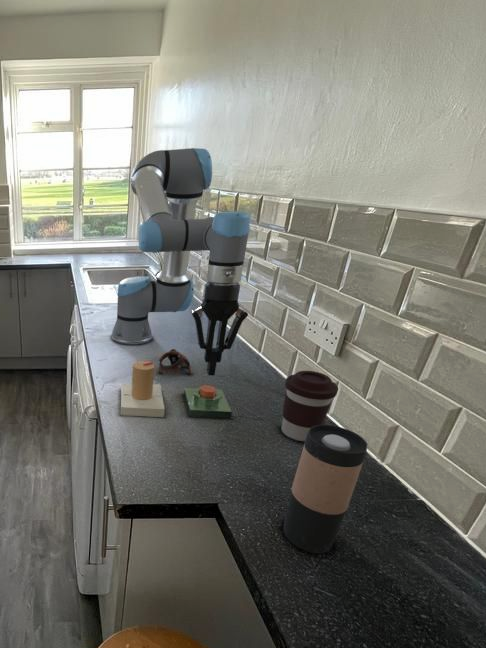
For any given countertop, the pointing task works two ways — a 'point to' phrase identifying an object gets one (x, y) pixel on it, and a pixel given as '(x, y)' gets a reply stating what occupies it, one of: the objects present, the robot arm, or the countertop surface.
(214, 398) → the button box
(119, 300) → the robot arm
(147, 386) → the knob
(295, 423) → the coffee cup
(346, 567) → the countertop surface
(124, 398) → the panel
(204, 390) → the button
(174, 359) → the brown arched frame
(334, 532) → the travel mug
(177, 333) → the countertop surface
